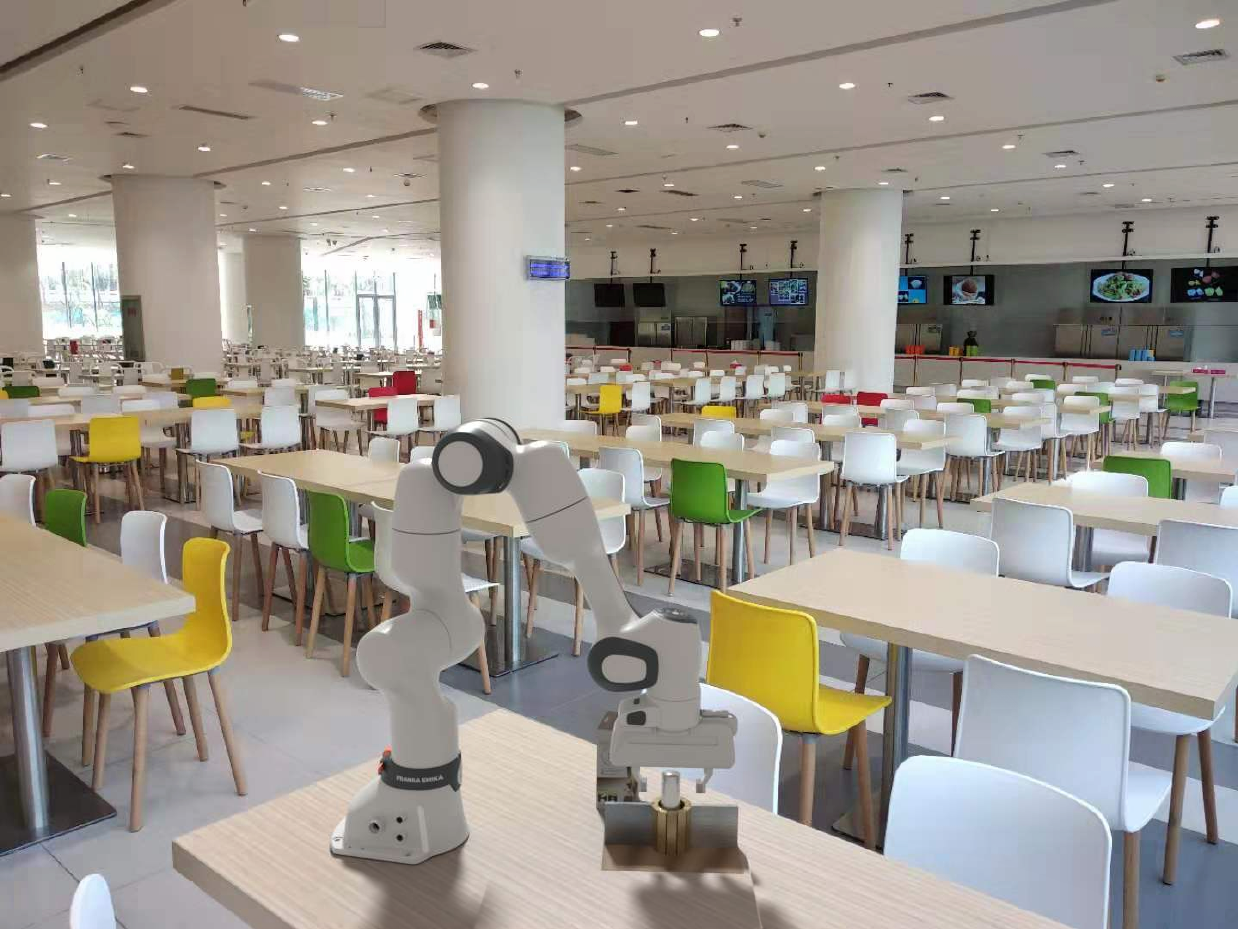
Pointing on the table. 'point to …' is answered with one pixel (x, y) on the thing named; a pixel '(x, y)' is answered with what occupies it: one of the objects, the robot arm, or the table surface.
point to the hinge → (671, 825)
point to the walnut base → (671, 859)
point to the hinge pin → (670, 790)
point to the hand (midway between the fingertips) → (671, 791)
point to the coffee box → (612, 769)
